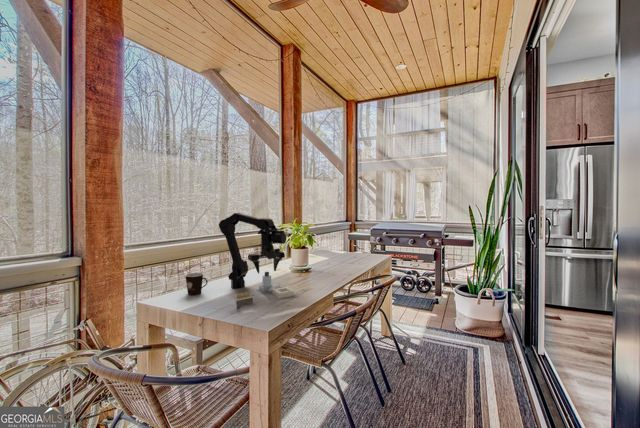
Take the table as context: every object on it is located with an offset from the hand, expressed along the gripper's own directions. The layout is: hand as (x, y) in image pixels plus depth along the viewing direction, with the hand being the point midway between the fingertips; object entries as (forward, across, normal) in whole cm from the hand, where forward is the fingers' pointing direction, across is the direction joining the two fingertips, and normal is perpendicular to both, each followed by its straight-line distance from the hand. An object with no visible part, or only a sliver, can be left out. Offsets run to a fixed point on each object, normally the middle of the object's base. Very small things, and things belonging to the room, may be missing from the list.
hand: (266, 272), depth 160 cm
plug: (+10, 0, 0) cm, 10 cm away
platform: (+12, -17, -13) cm, 24 cm away
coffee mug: (+12, -32, +18) cm, 38 cm away
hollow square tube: (+10, 0, 0) cm, 10 cm away
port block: (+10, +4, -11) cm, 15 cm away
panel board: (+11, +2, -6) cm, 13 cm away
